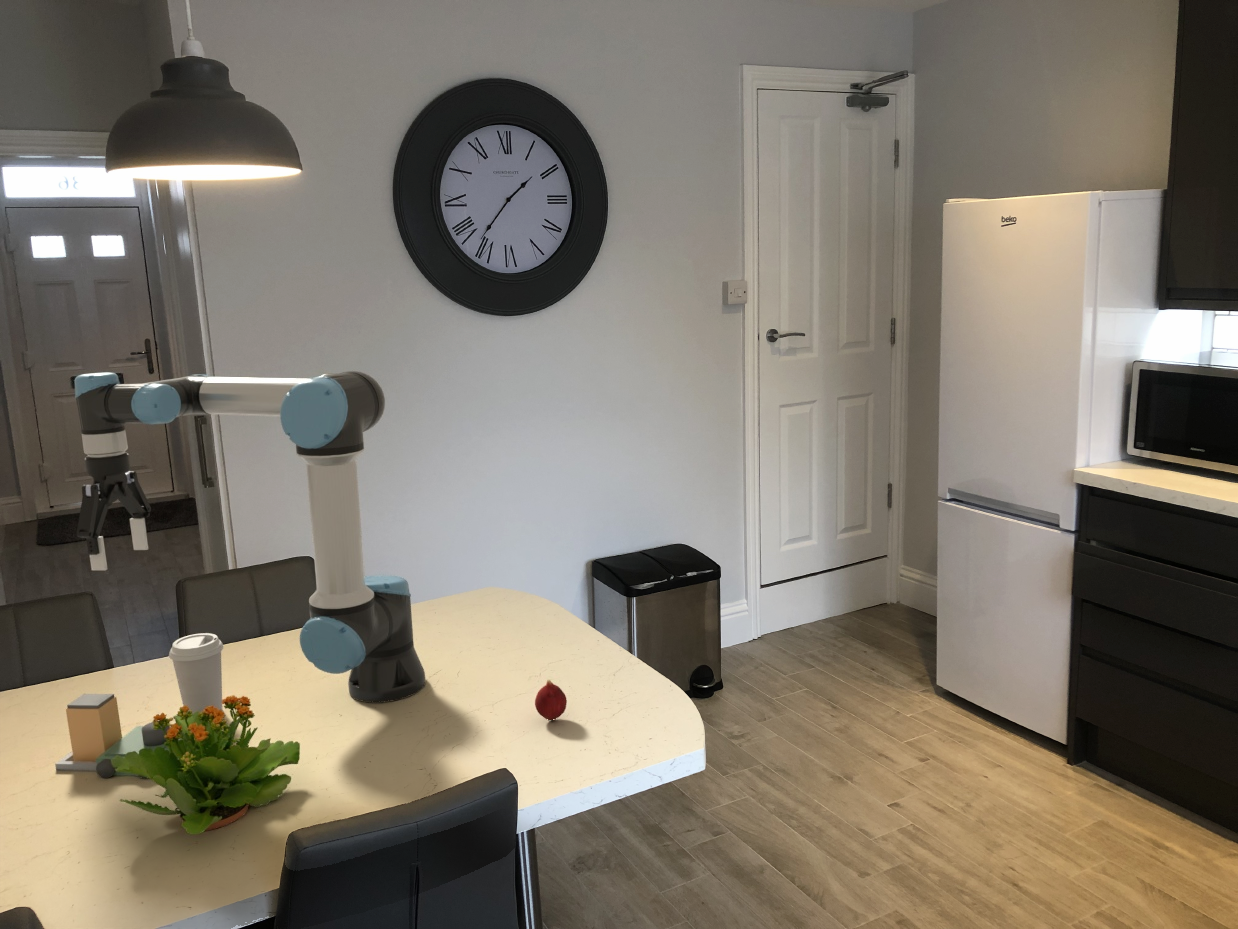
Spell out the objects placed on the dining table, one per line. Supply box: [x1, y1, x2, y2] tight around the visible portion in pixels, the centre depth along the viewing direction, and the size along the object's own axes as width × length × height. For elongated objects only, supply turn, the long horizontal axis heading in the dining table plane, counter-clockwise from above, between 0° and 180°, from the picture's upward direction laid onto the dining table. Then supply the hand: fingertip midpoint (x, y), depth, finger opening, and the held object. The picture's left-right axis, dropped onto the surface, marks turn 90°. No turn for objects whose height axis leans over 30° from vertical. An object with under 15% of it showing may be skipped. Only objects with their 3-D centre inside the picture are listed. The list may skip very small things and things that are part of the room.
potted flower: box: [111, 695, 301, 835], centre depth 146 cm, size 25×24×18 cm
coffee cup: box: [168, 632, 224, 714], centre depth 182 cm, size 10×10×15 cm
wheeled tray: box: [55, 721, 182, 780], centre depth 167 cm, size 20×14×6 cm
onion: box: [534, 679, 568, 721], centre depth 175 cm, size 6×6×8 cm
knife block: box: [65, 693, 123, 762], centre depth 167 cm, size 6×5×11 cm
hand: (121, 559), depth 187 cm, fingers open, 13 cm apart
